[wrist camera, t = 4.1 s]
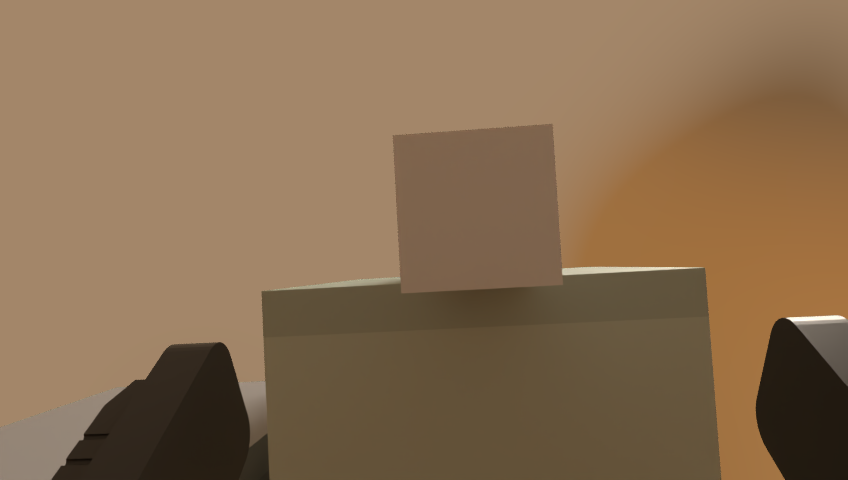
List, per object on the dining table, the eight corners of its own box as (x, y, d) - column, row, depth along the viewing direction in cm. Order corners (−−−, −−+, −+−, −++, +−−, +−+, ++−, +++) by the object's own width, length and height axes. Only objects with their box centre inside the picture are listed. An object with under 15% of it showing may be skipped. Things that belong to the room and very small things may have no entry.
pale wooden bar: (564, 285, 11) (553, 122, 11) (400, 293, 11) (391, 133, 12) (502, 272, 33) (499, 216, 33) (447, 275, 33) (443, 220, 34)
